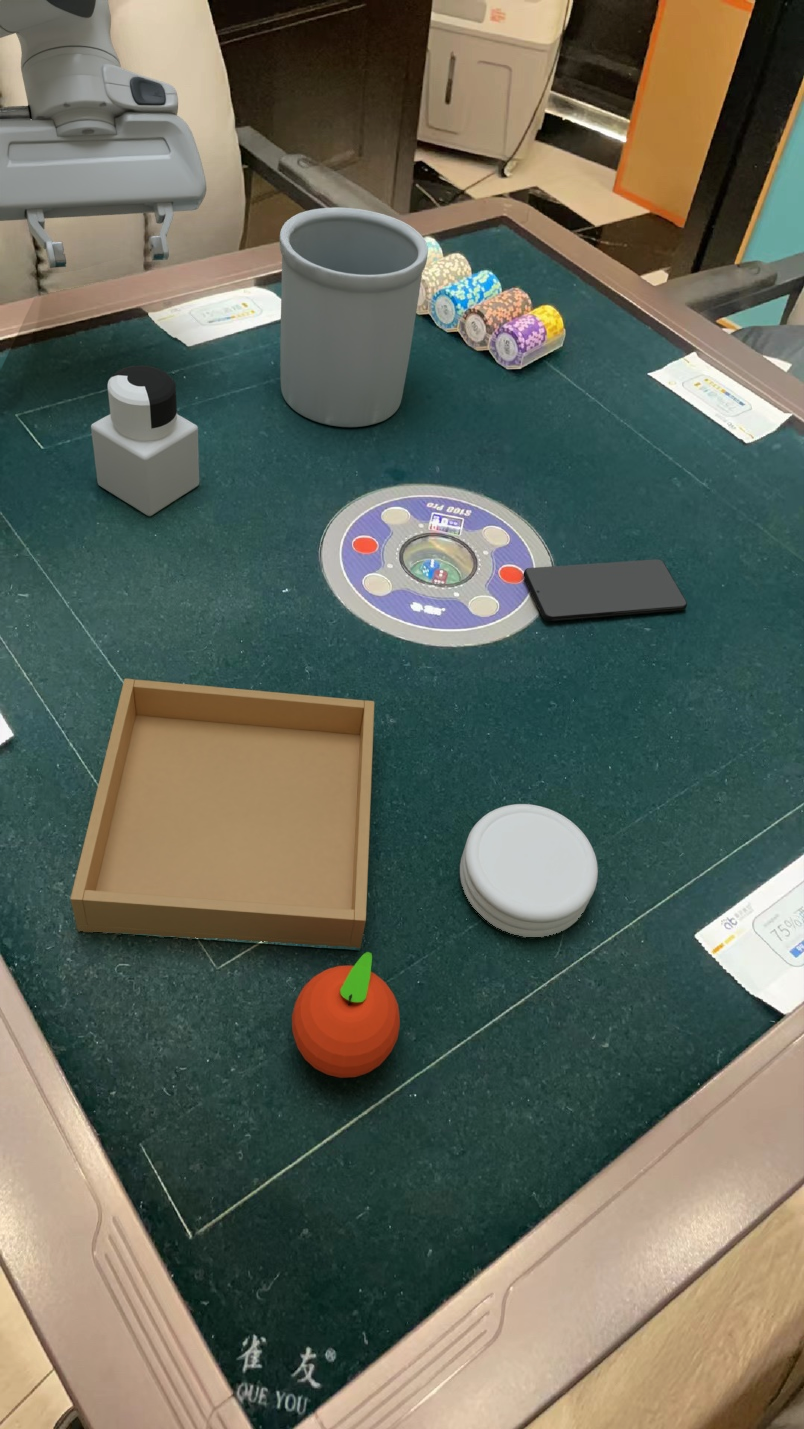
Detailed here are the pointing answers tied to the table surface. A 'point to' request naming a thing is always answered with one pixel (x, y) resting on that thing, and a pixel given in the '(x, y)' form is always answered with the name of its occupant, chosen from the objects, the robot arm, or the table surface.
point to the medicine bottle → (145, 441)
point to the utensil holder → (347, 313)
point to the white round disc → (528, 870)
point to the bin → (230, 817)
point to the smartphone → (603, 589)
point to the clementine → (346, 1020)
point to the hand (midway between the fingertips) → (110, 262)
